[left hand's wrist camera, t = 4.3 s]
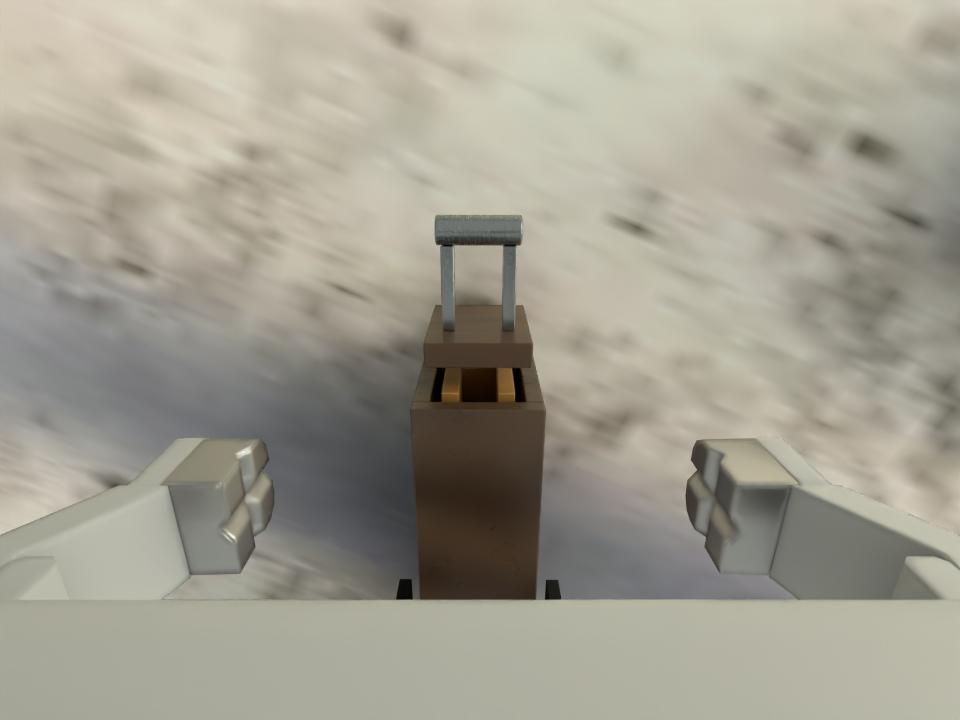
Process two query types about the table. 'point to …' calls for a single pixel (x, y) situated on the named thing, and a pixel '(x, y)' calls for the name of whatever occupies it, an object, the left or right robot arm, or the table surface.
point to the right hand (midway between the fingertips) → (478, 595)
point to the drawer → (478, 316)
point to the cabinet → (478, 490)
